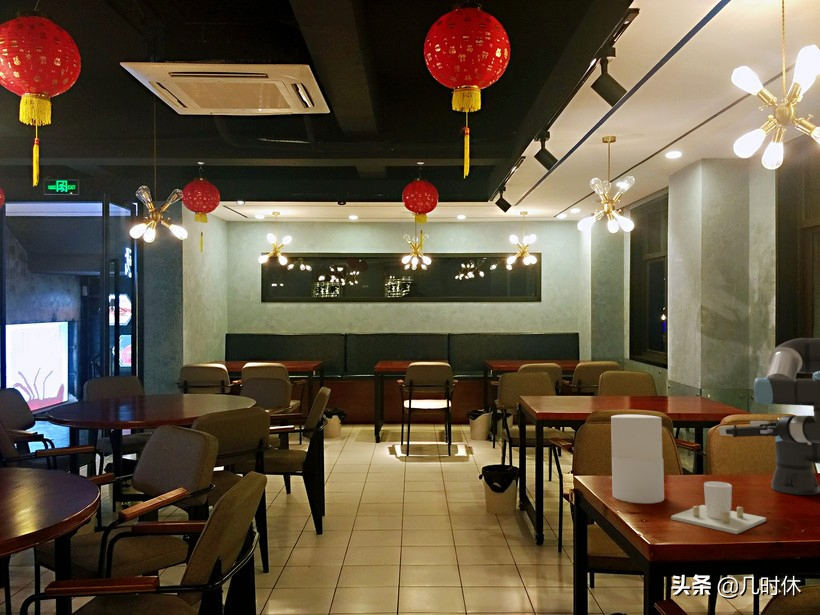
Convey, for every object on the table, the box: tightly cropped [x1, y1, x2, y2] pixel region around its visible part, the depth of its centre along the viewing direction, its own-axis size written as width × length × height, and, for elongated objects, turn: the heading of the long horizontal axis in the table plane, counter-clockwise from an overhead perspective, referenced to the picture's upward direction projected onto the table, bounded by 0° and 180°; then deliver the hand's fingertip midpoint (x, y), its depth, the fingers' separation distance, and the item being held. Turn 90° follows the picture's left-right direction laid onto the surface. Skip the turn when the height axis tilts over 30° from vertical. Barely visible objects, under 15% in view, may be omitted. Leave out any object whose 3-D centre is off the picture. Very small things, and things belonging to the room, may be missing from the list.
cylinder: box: [610, 414, 665, 504], centre depth 233 cm, size 17×17×28 cm
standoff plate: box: [670, 504, 767, 535], centre depth 204 cm, size 20×20×4 cm
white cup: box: [703, 481, 733, 520], centre depth 204 cm, size 8×8×10 cm
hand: (735, 428), depth 207 cm, fingers open, 13 cm apart
